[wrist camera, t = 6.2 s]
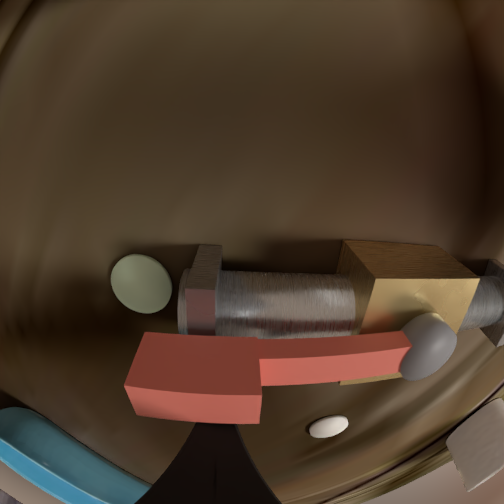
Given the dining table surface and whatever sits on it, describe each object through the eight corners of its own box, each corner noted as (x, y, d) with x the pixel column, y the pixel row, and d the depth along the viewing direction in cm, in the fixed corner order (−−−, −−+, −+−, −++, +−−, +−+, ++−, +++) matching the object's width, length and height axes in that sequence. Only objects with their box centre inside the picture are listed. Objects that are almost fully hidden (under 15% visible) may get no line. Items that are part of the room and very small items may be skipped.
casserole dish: (-28, 391, 21) (-47, 421, 14) (9, 364, 17) (-25, 416, 10) (133, 504, 34) (128, 532, 27) (225, 505, 30) (225, 541, 24)
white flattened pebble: (352, 413, 19) (353, 415, 18) (340, 432, 20) (341, 435, 20) (314, 417, 18) (314, 420, 18) (305, 436, 20) (306, 439, 19)
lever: (451, 309, 10) (485, 347, 7) (429, 357, 11) (454, 396, 8) (142, 316, 9) (118, 371, 7) (155, 371, 10) (141, 423, 8)
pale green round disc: (170, 255, 13) (168, 258, 12) (174, 312, 14) (173, 315, 14) (108, 252, 13) (106, 254, 12) (118, 307, 14) (116, 310, 14)
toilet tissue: (504, 386, 22) (536, 436, 13) (498, 412, 26) (521, 452, 17) (441, 435, 24) (466, 490, 15) (447, 450, 28) (466, 493, 19)
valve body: (502, 252, 13) (537, 276, 10) (476, 320, 16) (503, 350, 12) (188, 231, 12) (168, 271, 9) (193, 331, 15) (182, 384, 11)
